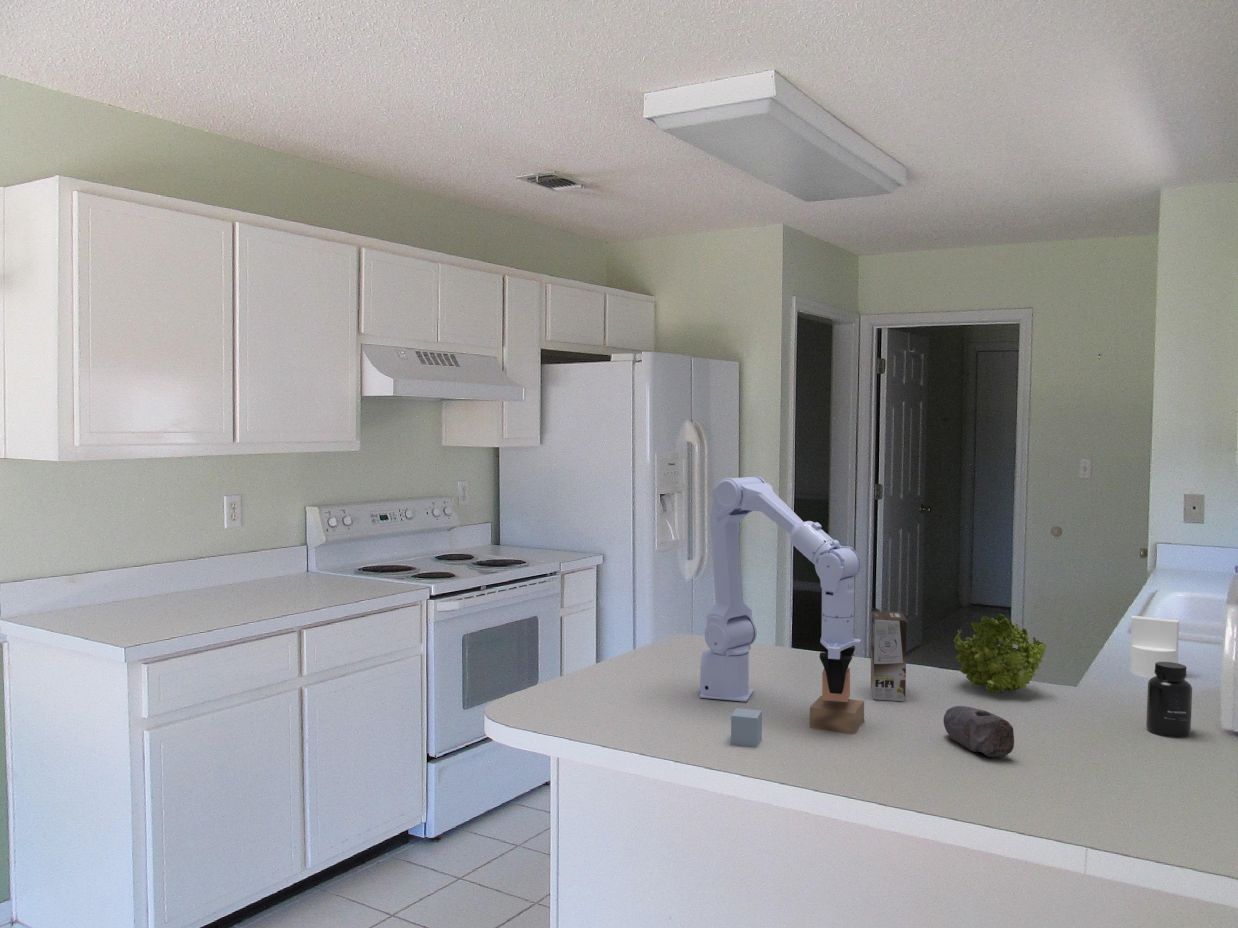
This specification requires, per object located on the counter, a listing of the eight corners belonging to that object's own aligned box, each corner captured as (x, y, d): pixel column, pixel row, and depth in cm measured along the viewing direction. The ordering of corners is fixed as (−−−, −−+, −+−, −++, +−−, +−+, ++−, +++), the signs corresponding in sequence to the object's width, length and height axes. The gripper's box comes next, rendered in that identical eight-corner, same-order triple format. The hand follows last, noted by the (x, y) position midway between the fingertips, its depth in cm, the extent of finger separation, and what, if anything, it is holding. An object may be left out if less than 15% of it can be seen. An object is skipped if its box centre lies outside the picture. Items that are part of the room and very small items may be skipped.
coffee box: (906, 701, 186) (907, 620, 186) (872, 700, 188) (873, 618, 187) (902, 688, 195) (903, 610, 194) (870, 687, 197) (870, 609, 196)
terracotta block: (822, 699, 171) (822, 672, 171) (824, 692, 176) (824, 666, 175) (847, 701, 170) (848, 674, 170) (849, 695, 174) (850, 667, 174)
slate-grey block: (730, 744, 163) (731, 715, 162) (736, 736, 167) (736, 708, 167) (757, 747, 161) (757, 718, 161) (761, 738, 165) (761, 710, 165)
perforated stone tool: (933, 736, 167) (933, 696, 166) (958, 733, 168) (959, 694, 168) (990, 765, 152) (990, 722, 152) (1017, 762, 154) (1018, 719, 153)
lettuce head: (1069, 669, 192) (1048, 628, 183) (1017, 724, 191) (994, 686, 181) (998, 624, 207) (976, 584, 197) (949, 675, 205) (925, 637, 196)
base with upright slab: (1178, 671, 207) (1179, 617, 207) (1176, 681, 200) (1178, 624, 199) (1131, 666, 212) (1132, 612, 212) (1128, 675, 205) (1129, 620, 204)
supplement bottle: (1175, 740, 163) (1177, 671, 163) (1137, 729, 169) (1139, 662, 169) (1199, 734, 167) (1201, 666, 166) (1161, 723, 173) (1163, 657, 172)
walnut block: (809, 729, 171) (809, 707, 171) (820, 716, 178) (820, 695, 178) (854, 735, 168) (854, 713, 167) (863, 722, 175) (864, 700, 175)
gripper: (857, 624, 164) (857, 702, 165) (863, 608, 178) (862, 680, 178) (816, 621, 166) (815, 698, 167) (824, 606, 180) (824, 677, 181)
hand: (837, 689), depth 173 cm, fingers closed on terracotta block, 4 cm apart
